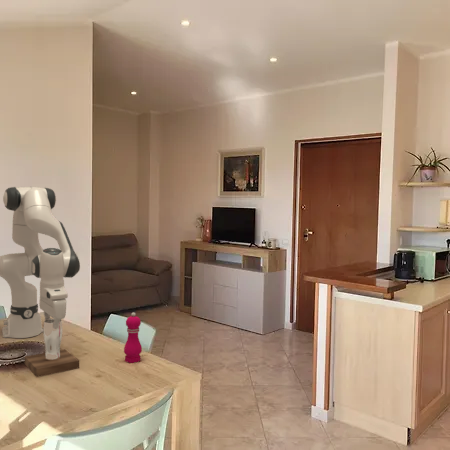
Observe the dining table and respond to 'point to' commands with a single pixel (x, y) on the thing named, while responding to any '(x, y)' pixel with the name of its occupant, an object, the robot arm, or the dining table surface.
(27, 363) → the walnut base
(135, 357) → the pepper mill
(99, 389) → the dining table surface
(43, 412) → the dining table surface
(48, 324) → the beer glass
